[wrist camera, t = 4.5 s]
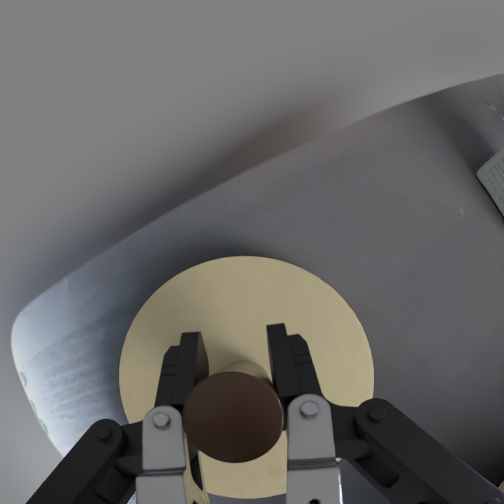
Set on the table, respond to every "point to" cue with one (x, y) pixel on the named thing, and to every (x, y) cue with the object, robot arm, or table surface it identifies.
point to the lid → (243, 362)
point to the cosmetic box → (494, 178)
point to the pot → (501, 486)
